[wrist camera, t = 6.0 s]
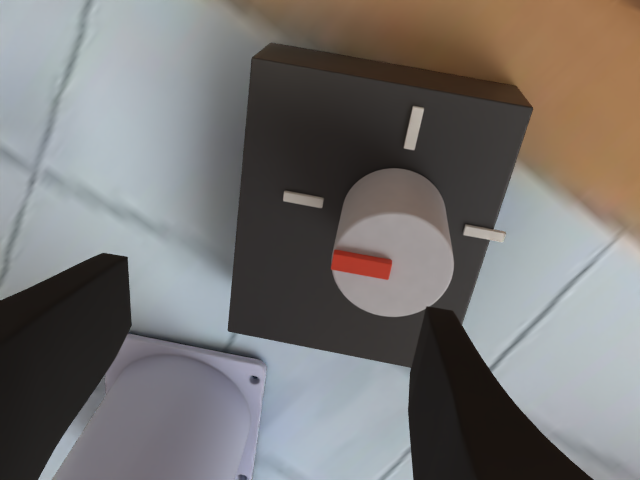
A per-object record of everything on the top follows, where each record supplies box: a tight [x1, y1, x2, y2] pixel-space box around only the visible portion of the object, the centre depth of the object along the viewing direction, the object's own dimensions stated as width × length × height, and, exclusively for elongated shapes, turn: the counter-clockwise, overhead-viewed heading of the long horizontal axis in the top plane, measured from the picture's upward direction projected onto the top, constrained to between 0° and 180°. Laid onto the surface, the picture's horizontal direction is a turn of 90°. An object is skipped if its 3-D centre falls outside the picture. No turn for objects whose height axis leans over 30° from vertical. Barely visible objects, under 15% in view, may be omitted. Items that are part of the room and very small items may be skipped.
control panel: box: [228, 43, 533, 368], centre depth 22 cm, size 11×9×3 cm
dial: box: [331, 168, 454, 317], centre depth 18 cm, size 4×4×4 cm
